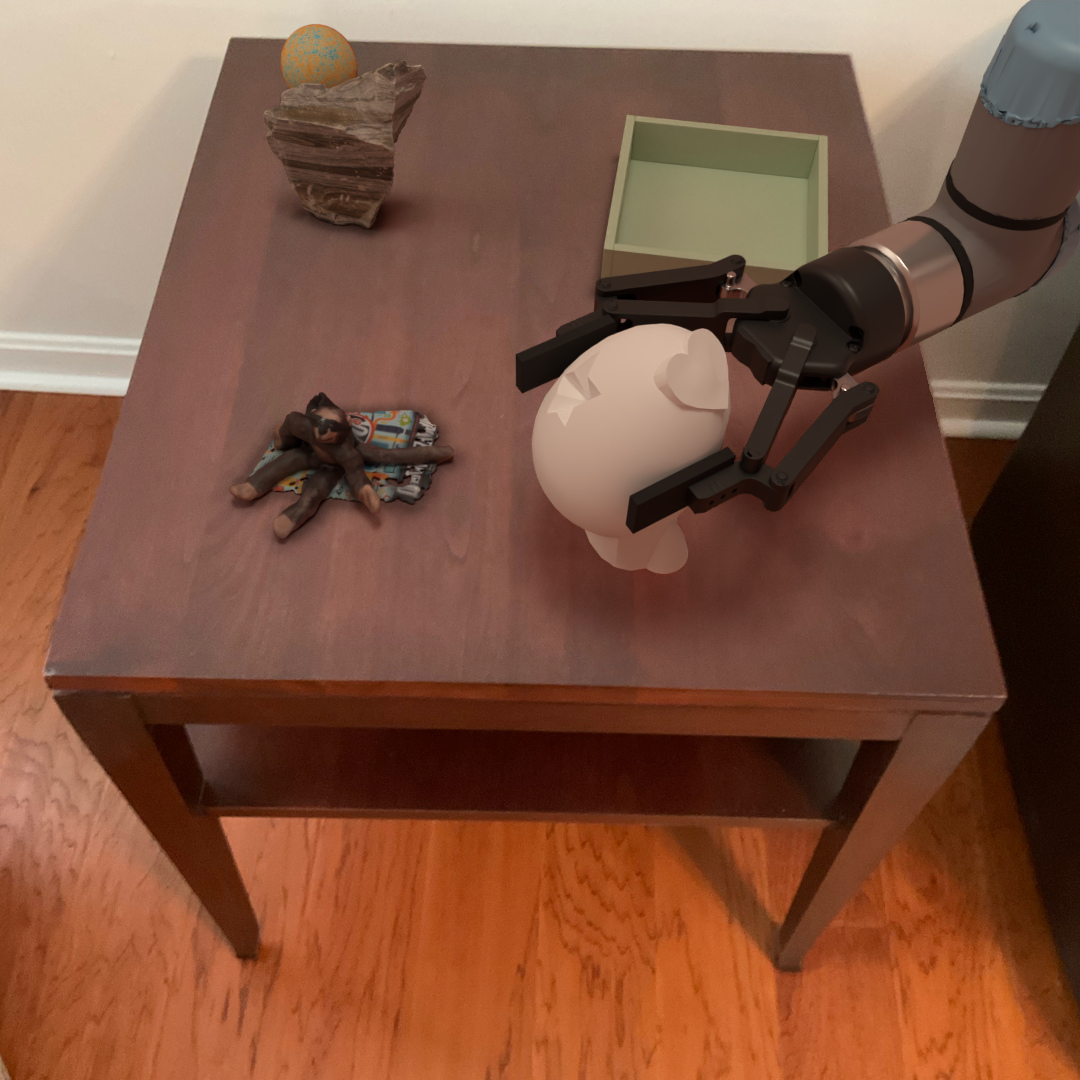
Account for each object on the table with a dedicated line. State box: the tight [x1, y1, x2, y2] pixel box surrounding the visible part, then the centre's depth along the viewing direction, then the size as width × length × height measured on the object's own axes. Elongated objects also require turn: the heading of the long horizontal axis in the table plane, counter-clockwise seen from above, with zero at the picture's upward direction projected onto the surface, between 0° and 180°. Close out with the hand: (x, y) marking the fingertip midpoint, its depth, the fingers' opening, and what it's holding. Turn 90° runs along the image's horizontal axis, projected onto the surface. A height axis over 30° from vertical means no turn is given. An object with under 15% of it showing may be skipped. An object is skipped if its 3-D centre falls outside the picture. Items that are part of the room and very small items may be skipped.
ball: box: [280, 23, 358, 89], centre depth 96 cm, size 7×7×7 cm
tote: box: [600, 114, 829, 285], centre depth 87 cm, size 18×18×5 cm
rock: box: [263, 58, 427, 230], centre depth 84 cm, size 13×6×15 cm, turn 72°
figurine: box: [531, 324, 732, 575], centre depth 60 cm, size 11×11×15 cm
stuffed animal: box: [228, 391, 455, 539], centre depth 74 cm, size 12×10×12 cm
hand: (572, 441), depth 58 cm, fingers closed on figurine, 11 cm apart
